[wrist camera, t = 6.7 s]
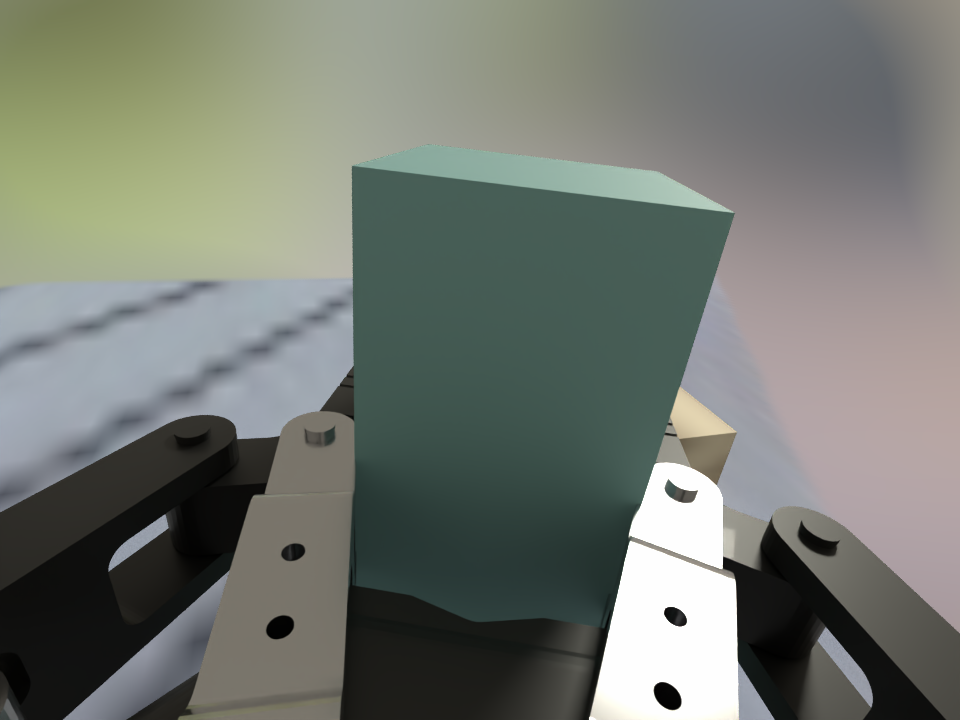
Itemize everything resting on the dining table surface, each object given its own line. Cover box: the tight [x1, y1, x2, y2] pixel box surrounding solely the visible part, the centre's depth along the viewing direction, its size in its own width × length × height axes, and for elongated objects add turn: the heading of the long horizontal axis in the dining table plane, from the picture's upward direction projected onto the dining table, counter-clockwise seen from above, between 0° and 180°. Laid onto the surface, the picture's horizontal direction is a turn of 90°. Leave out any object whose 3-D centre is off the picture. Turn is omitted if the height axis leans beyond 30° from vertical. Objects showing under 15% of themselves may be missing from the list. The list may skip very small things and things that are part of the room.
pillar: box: [352, 144, 735, 627], centre depth 10 cm, size 4×4×12 cm
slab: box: [670, 387, 737, 485], centre depth 22 cm, size 9×9×4 cm
